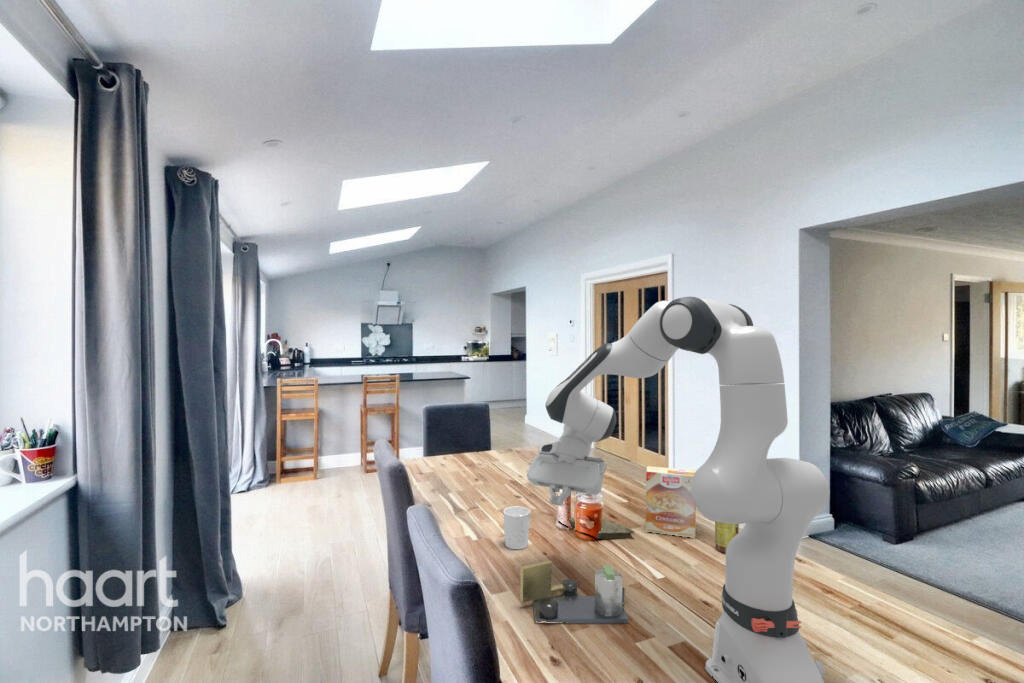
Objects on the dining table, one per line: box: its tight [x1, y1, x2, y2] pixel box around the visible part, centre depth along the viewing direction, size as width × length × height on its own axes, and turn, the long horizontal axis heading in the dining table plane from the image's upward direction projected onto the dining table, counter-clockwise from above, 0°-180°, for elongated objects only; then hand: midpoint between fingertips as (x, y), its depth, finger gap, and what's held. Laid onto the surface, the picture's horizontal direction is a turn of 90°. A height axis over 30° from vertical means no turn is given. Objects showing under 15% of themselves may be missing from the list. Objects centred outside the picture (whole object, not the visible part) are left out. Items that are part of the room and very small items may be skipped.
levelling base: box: [532, 564, 629, 624], centre depth 106 cm, size 10×21×10 cm, turn 91°
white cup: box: [503, 505, 531, 550], centre depth 140 cm, size 8×8×10 cm
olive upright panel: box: [519, 560, 579, 603], centre depth 111 cm, size 15×4×9 cm, turn 116°
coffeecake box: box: [644, 465, 697, 539], centre depth 151 cm, size 15×7×20 cm, turn 73°
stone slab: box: [569, 518, 636, 540], centre depth 152 cm, size 27×12×5 cm, turn 50°
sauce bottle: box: [714, 521, 740, 554], centre depth 138 cm, size 7×6×20 cm
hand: (555, 504), depth 118 cm, fingers closed
